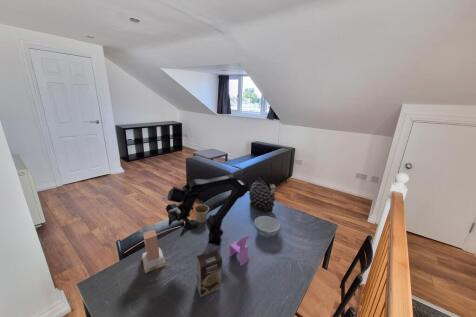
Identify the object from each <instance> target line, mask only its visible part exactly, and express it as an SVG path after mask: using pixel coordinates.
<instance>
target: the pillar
mask: <svg viewBox="0 0 476 317" xmlns="http://www.w3.org/2000/svg"><path fill="white" fill-rule="evenodd" d="M142 235H143V242H144V247H145V252H146V255H147V258H148V261H149V260H152V259H155V258H157V257H160V256H159V240H158V235H157V233H156V230H155V229H151V230H149V231H145V232H143V234H142Z"/></svg>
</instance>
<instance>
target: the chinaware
mask: <svg viewBox="0 0 476 317" xmlns="http://www.w3.org/2000/svg"><path fill="white" fill-rule="evenodd" d="M254 226H255V230H256V231H257V234H259V235H260V236H261V237H263V238H267V239H268V238H271V237H273V236H275V235H276V234H277V233H278V232H279V230H280V228H281V224H280V222H279V220H277V219H276V218H275V217H272V216H270V215H262V216H261V215H259V216H258V217H256V218H255V219H254Z"/></svg>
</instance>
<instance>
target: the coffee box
mask: <svg viewBox="0 0 476 317" xmlns="http://www.w3.org/2000/svg"><path fill="white" fill-rule="evenodd" d="M222 266H223V259H222V258H221V255H220V254H219V252H218V249H215V250H212V251H209V252H205V253H202V254H201V255H197V256H196V288H197V291H198V293H199V296H200V297H201V298H202V297H204V296H207V295H208V294H211V293H213V292H214V293H215V292H216V291H218V290H221V287H222V271H223V270H222Z"/></svg>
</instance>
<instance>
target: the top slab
mask: <svg viewBox="0 0 476 317" xmlns="http://www.w3.org/2000/svg"><path fill="white" fill-rule="evenodd" d="M158 248H159V256H160V257H157V258H155V259H152V260H149V261H148V258H147V255H146V251H145V252H143V253H142V256H143V259H144V263H145V267H146V269H149V268H151V267H154V266H156V265H159V264H161V263H163V262H164V260H165V257H164V254H163V251H162V249H161V247H159V246H158ZM161 251H162V252H161ZM162 254H163V255H162Z"/></svg>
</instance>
